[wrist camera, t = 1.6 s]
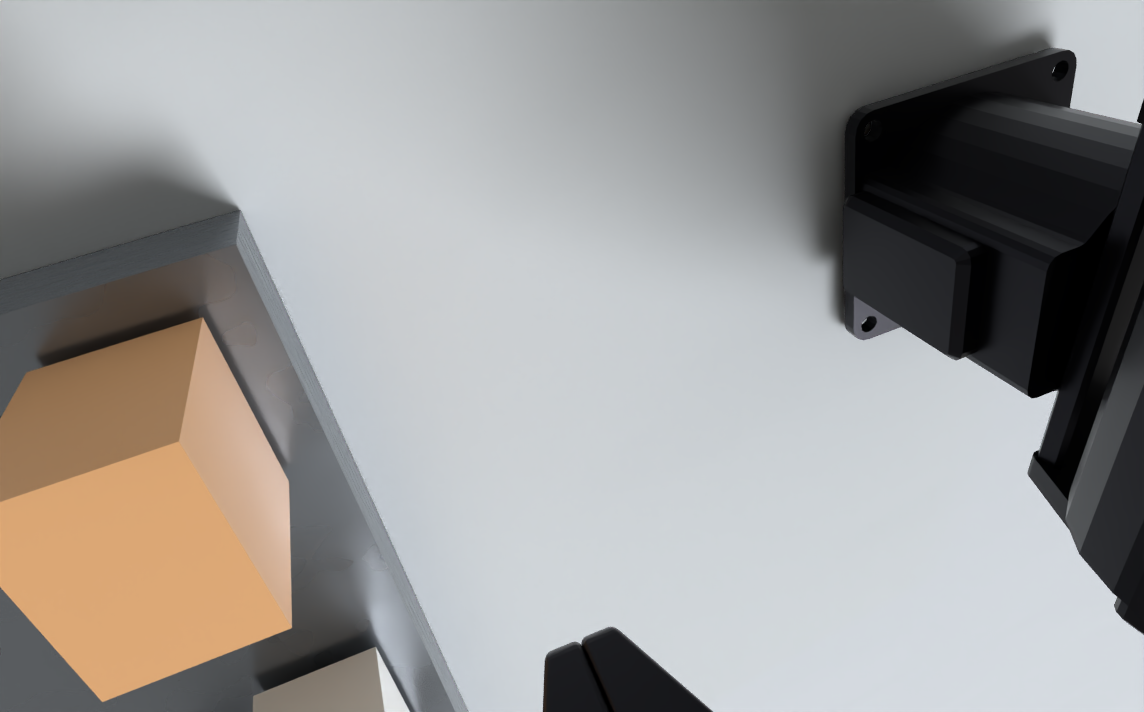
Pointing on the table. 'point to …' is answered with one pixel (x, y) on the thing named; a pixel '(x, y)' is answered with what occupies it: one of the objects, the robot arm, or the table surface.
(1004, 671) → the table surface
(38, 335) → the panel
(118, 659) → the slider orange
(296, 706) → the block
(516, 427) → the table surface
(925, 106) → the robot arm
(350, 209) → the table surface
